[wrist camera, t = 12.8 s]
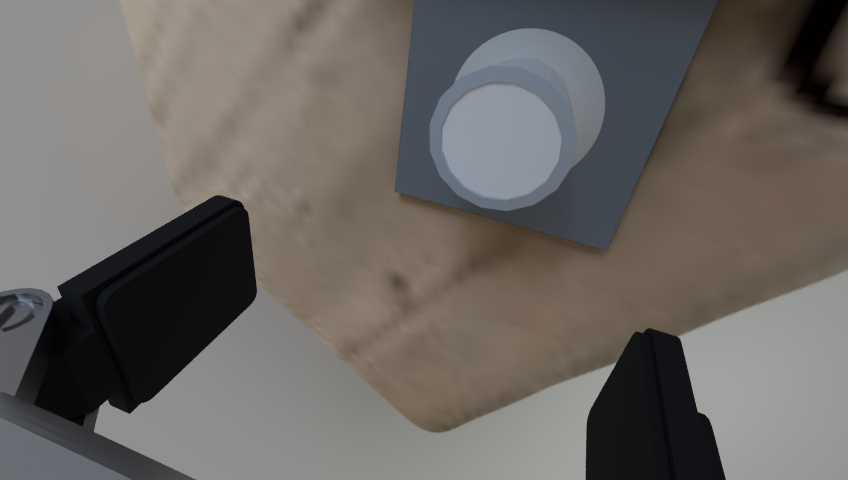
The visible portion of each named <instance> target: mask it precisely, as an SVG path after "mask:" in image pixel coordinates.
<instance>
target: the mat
mask: <svg viewBox="0 0 848 480" xmlns="http://www.w3.org/2000/svg"><path fill="white" fill-rule="evenodd" d="M717 2H718V0H415V4H414V13H413V23H412V32H411V42H410V51H409V61H408V70H407V80H406V89H405V99H404V108H403V118H402V127H401V137H400V146H399V156H398V165H397V175H396V184H395V192H399V193H402V194H406V195H409V196H413V197H417V198H420V199H424V200H427V201H431V202H434V203H438V204H442V205H445V206H449V207H452V208H456V209H459V210H463V211H467V212H470V213H474V214H477V215H481V216H484V217H488V218H491V219H495V220H499V221H502V222H506V223H509V224H513V225H516V226H520V227H524V228H527V229H531V230H534V231H538V232H541V233H545V234H549V235H552V236H556V237H559V238H563V239H566V240H570V241H574V242H577V243H581V244H584V245H588V246H591V247H595V248H599V249H602V250H606V251H607V248H608V246H609V244H610V242H611V239H612V237H613V235H614V233H615V230H616V228H617V226H618V224H619V222H620V219H621V217H622V215H623V213H624V210H625V208H626V206H627V204H628V201H629V199H630V197H631V195H632V192H633V190H634V188H635V186H636V183H637V181H638V179H639V177H640V175H641V172H642V170H643V168H644V166H645V163H646V161H647V159H648V157H649V154H650V152H651V150H652V148H653V145H654V143H655V141H656V139H657V136H658V134H659V132H660V130H661V128H662V125H663V123H664V121H665V119H666V116H667V114H668V112H669V110H670V107H671V105H672V103H673V101H674V98H675V96H676V94H677V92H678V89H679V87H680V85H681V83H682V81H683V78H684V76H685V74H686V72H687V69H688V67H689V65H690V63H691V60H692V58H693V56H694V54H695V51H696V49H697V47H698V45H699V42H700V40H701V38H702V36H703V33H704V31H705V29H706V27H707V25H708V22H709V20H710V18H711V16H712V13H713V11H714V9H715V7H716V4H717ZM515 57H517V58H536V59H538V60H540V61H542V62H544V63H546V64H548V65H550V66H552V67H554V68H555V70H556V71H557V72H558V73H559V75H560V76H561V77H562V78H563V80H564V81H565V82H566V85H567V89H568V93H569V97H570V101H571V105H572V110H573V115H574V120H575V124H576V129H577V134H578V138H577V144H576V150H575V156H574V162H573V166H572V167H571V169H570V170H569V172H568V173H567V175H566V176H565V178H564V180H563V181H562V183H561V184H560V186H559V187H558V189H557V190H555V191H554V192H552V193H551V194H549V195H548V196H547V197H545V198H544V199H542V200H541V201H539V202H538V203H536V204H535V205H532V206H527V207H523V208H519V209H514V210H510V211H503V210H496V209H489V208H481V207H479V206H477V205H475V204H473V203H471V202H470V201H468V200H466V199H464V198H462V197H460V196H458V195H457V194H456V193H455V192H454V191H453V190H452V189H451V187H450V186H449V185H448V184H447V183H446V182H445V181H444V180H443V179H442V178H441V176H440V175H439V173H438V170H437V168H436V165H435V163H434V160H433V158H432V155H431V153H430V122H431V119H432V117H433V114H434V112H435V109H436V107H437V104H438V102H439V99H440V97H441V96H442V95H443V94H444V93H445V92H446V91H447V90H448V89H449V88H450V87H451V86H452V85H453V84H454V83H455V82H456V81H457V80H458V79H459V78H460V77H462V76H464V75H467V74H469V73H472V72H474V71H477V70H479V69H482V68H484V67H487V66H490V65H493V64H496V63H499V62H502V61H506V60H509V59H512V58H515Z"/></svg>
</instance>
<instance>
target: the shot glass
mask: <svg viewBox="0 0 848 480" xmlns="http://www.w3.org/2000/svg"><path fill="white" fill-rule="evenodd" d="M577 138H578V134H577V129H576V124H575V120H574V115H573V110H572V105H571V101H570V97H569V93H568V89H567V85H566V82H565V81H564V80H563V78H562V77H561V76H560V75H559V73H558V72H557V71H556V70H555V68H554V67H552V66H550V65H548V64H546V63H544V62H542V61H540V60H538V59H536V58H517V57H515V58H512V59H509V60H506V61H502V62H499V63H496V64H493V65H490V66H487V67H484V68H482V69H479V70H477V71H474V72H472V73H469V74H467V75H464V76H462V77H460V78H459V79H458V80H457V81H456V82H455V83H454V84H453V85H452V86H451V87H450V88H449V89H448V90H447V91H446V92H445V93H444V94H443V95H442V96H441V97H440V99H439V102H438V104H437V107H436V109H435V112H434V114H433V117H432V119H431V122H430V153H431V155H432V158H433V160H434V163H435V165H436V168H437V170H438V173H439V175H440V176H441V178H442V179H443V180H444V181H445V182H446V183H447V184H448V185H449V186H450V187H451V189H452V190H453V191H454V192H455V193H456V194H457V195H458V196H460V197H462V198H464V199H466V200H468V201H470V202H471V203H473V204H475V205H477V206H479V207H481V208H489V209H496V210H503V211H510V210H514V209H519V208H523V207H527V206H532V205H535V204H536V203H538V202H539V201H541V200H542V199H544V198H545V197H547V196H548V195H549V194H551V193H552V192H554V191H555V190H557V189H558V187H559V186H560V184H561V183H562V181H563V180H564V178H565V176H566V175H567V173H568V172H569V170H570V169H571V167H572V166H573V162H574V156H575V150H576V144H577Z"/></svg>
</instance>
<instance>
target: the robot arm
mask: <svg viewBox="0 0 848 480" xmlns="http://www.w3.org/2000/svg"><path fill="white" fill-rule="evenodd" d="M58 290H59V292H60V294H61V296H62V298H60V299H58V300H57V301H55V302H54V301H53V299H52V297H51V296H50V294H48V293H47V292H45V291H43V290H39V289H32V288H26V289H14V290H9V291H3V292H0V480H196V479H193V478H191V477H189V476H187V475H185V474H183V473H181V472H179V471H176V470H174V469H172V468H170V467H168V466H166V465H164V464H161V463H159V462H157V461H155V460H153V459H151V458H149V457H146V456H144V455H142V454H140V453H138V452H136V451H134V450H131V449H129V448H127V447H125V446H123V445H121V444H118V443H116V442H114V441H112V440H110V439H108V438H105V437H103V436H101V435H99V434H97V433H95V432H94V428H95V423H96V419H97V415H98V411H99V406H100V405H102V404H103V403H104V402H105V401H106V400H107V399H108V401H109V403H110V405H111V406H113V407H116V408H118V409H120V410H122V411H125V412H127V413H129V414H130V413H131V412H132V411H133V410H134V409H135V408H136V407H137V406H138V405H140V404H141V403H144V402H147V401H149V400H151V399H152V398H153V397H154V396H155V395H156V394H157V393H158V392H159V391H160V390H161V389H162V388H164V387H165V386H166V385H167V384H168V383H169V382H170V381H171V380H172V379H173V378H174V377H175V376H176V375H177V374H178V373H179V372H180V371H181V370H183V368H185V367H186V366H187V365H188V364H189V363H190V362H191V361H192V360H193V359H194V358H195V357H196V356H197V355H198V354H199V353H200V352H201V351H202V350H203V349H205V348H206V347H207V346H208V345H209V344H210V343H211V342H212V341H213V340H214V339H215V338H216V337H217V336H218V335H219V334H220V333H221V332H222V331H224V330H225V329H226V328H227V327H228V326H229V325H230V324H231V323H232V322H233V321H234V320H235V319H236V318H237V317H238V316H239V315H240V314H241V313H242V312H243V311H244V310H246V309H247V308H248V307H249V306H250V305H251V304H252V302H253V301H254V299H255V297H256V294H257V287H256V278H255V269H254V260H253V251H252V242H251V233H250V225H249V216H248V212H247V210H245V209H244V206H243V204H242V203H241V202H239V201H237V200H234V199H230V198H227V197H224V196H220V195H217V196H214V197H212V198H210V199H208V200H207V201H205V202H203V203H202V204H200V205H198V206H196V207H195V208H193V209H191V210H189V211H188V212H186V213H184V214H182V215H181V216H179V217H177V218H176V219H174V220H172V221H170V222H169V223H167V224H165V225H163V226H162V227H160V228H158V229H156V230H155V231H153V232H151V233H150V234H148V235H146V236H144V237H143V238H141V239H139V240H137V241H136V242H134V243H132V244H130V245H129V246H127V247H125V248H123V249H122V250H120V251H118V252H117V253H115V254H113V255H111V256H110V257H108V258H106V259H105V260H103V261H101V262H99V263H98V264H96V265H94V266H92V267H91V268H89V269H87V270H86V271H84V272H82V273H81V274H78V275H77V276H75V277H73V278H71V279H70V280H68V281H66V282H65V283H63V284H61V285H59V286H58ZM586 437H587V439H586V480H726V479H725V475H724V471H723V467H722V464H721V460H720V456H719V452H718V448H717V444H716V440H715V436H714V433H713V429H712V426H711V423H710V421H709V419H708V418H707V417H706V415H704V414H701V413H698V412H697V408H696V403H695V399H694V395H693V391H692V386H691V382H690V378H689V373H688V369H687V365H686V361H685V356H684V352H683V348H682V343H681V341H680V339H679V338H678V337H677V336H673V335H670V334H667V333H664V332H660V331H657V330H654V329H651V328H648V329H646V330H645V331H644V333H640V332H635V333H634V334H633V335H632V337H631V339H630V340H629V342H628V344H627V346H626V348H625V349H624V351H623V353H622V355H621V356H620V358H619V360H618V362H617V363H616V365H615V367H614V369H613V371H612V372H611V374H610V376H609V378H608V379H607V381H606V383H605V385H604V386H603V388H602V390H601V392H600V393H599V395H598V397H597V399H596V401H595V402H594V404H593V406H592V408H591V410H590V412H589V415H588V420H587V436H586Z"/></svg>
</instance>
